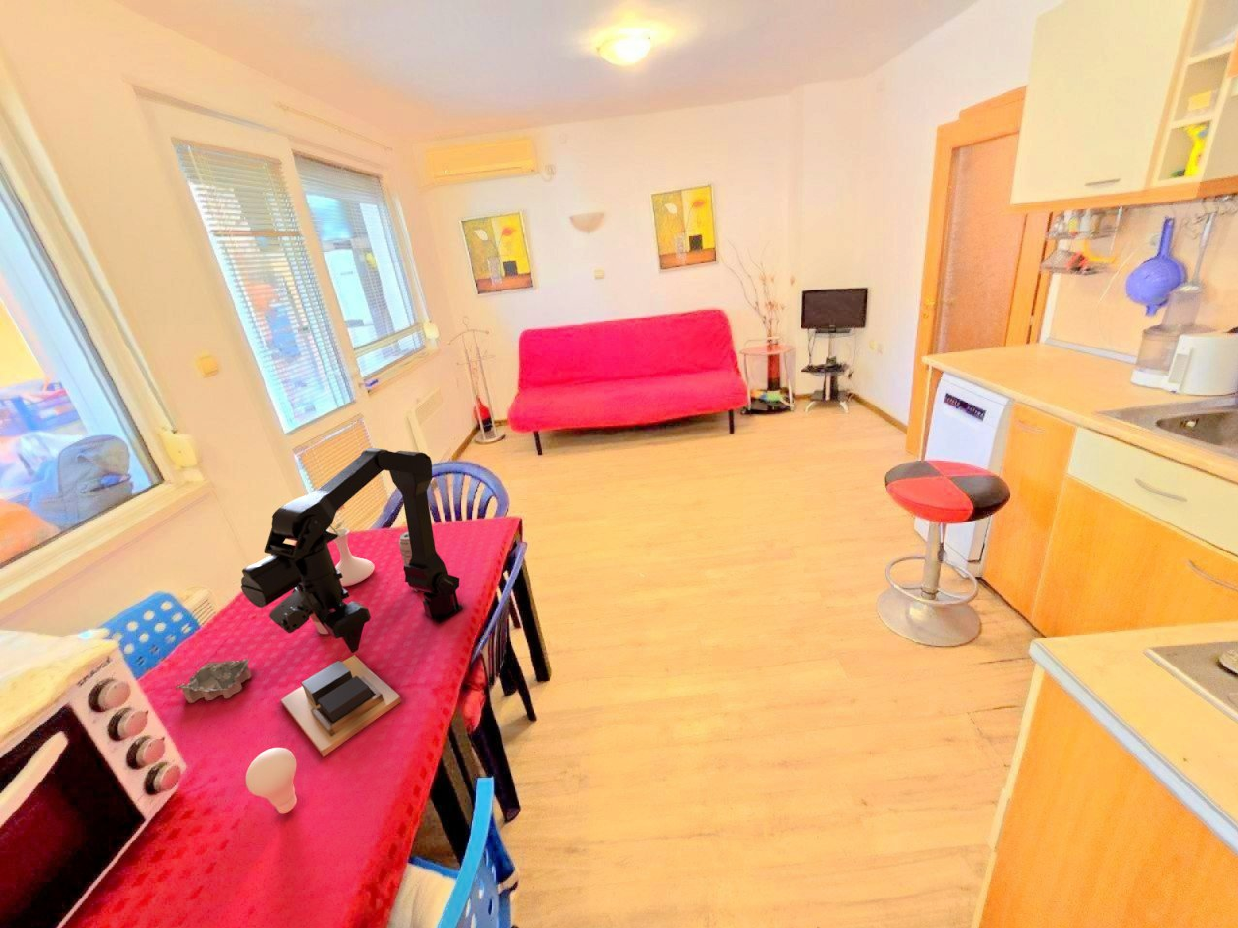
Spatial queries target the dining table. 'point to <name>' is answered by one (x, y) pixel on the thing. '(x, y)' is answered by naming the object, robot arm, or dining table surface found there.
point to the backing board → (332, 735)
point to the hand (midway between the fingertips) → (343, 641)
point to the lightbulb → (274, 778)
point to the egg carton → (216, 680)
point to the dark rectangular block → (344, 699)
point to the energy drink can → (405, 548)
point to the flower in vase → (350, 560)
